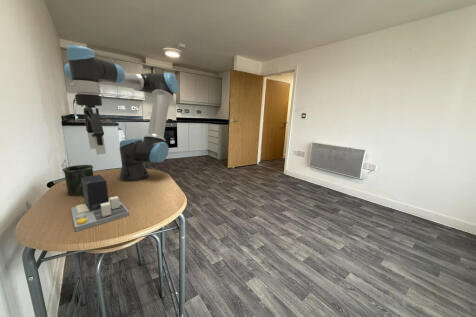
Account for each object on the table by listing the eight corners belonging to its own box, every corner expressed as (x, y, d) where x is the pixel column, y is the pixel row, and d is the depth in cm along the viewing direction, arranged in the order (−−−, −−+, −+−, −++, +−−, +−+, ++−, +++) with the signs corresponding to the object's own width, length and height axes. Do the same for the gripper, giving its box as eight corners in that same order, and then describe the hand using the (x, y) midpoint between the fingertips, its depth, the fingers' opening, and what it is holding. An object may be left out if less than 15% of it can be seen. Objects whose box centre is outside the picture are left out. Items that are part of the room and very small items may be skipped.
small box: (110, 205, 71) (107, 179, 69) (89, 211, 66) (85, 183, 64) (103, 197, 78) (100, 173, 76) (83, 202, 73) (79, 177, 71)
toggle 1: (109, 211, 66) (108, 202, 65) (111, 214, 65) (110, 204, 64) (101, 214, 65) (100, 204, 64) (103, 216, 63) (101, 206, 62)
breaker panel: (117, 200, 80) (116, 194, 80) (129, 215, 68) (128, 209, 68) (71, 211, 70) (70, 205, 69) (75, 231, 58) (74, 224, 57)
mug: (94, 186, 96) (91, 163, 93) (99, 194, 86) (96, 169, 83) (66, 191, 88) (61, 167, 86) (68, 201, 78) (63, 174, 76)
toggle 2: (118, 205, 71) (117, 196, 71) (119, 207, 70) (118, 197, 69) (110, 207, 70) (109, 197, 69) (112, 209, 68) (110, 199, 67)
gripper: (71, 95, 73) (81, 147, 79) (79, 91, 57) (91, 158, 62) (94, 96, 79) (102, 145, 84) (108, 93, 62) (117, 154, 67)
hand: (97, 151), depth 73 cm, fingers open, 13 cm apart
